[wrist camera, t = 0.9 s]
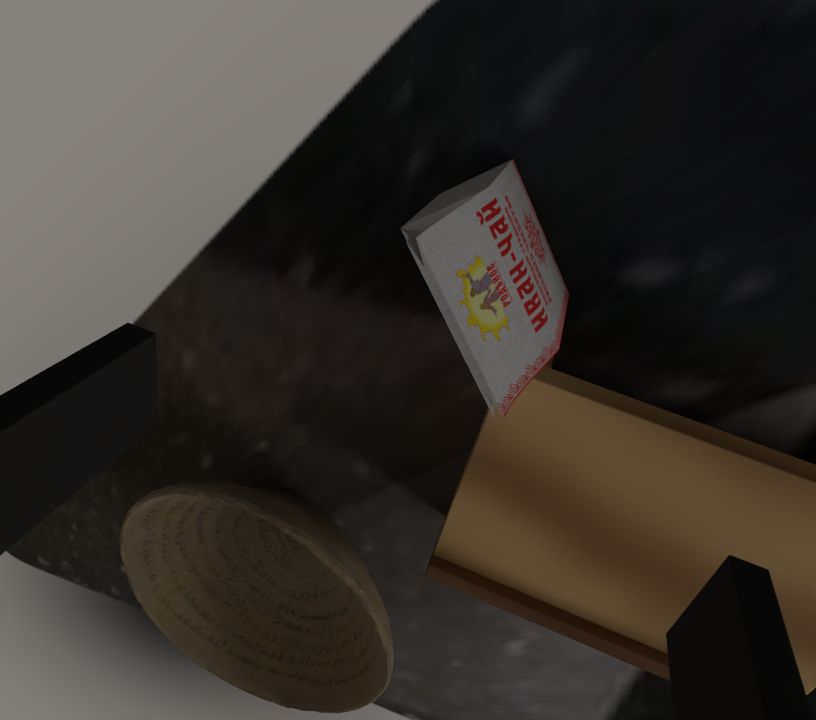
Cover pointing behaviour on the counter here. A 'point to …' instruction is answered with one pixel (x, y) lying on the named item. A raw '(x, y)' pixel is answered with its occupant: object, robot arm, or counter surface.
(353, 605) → the bowl
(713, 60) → the counter surface
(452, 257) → the herbal tea packet
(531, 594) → the shelf
